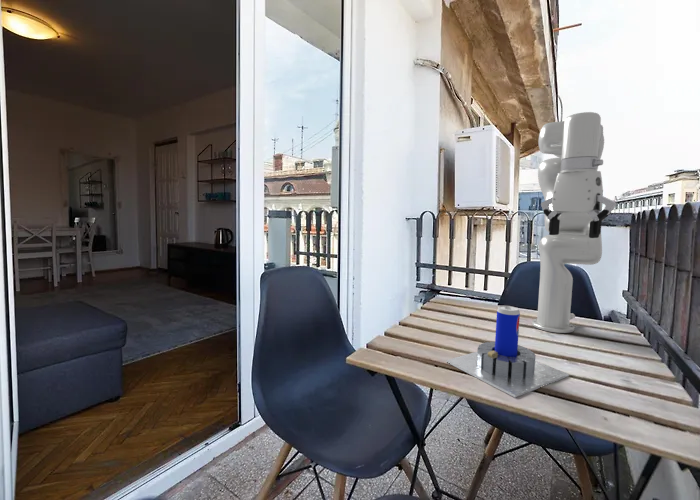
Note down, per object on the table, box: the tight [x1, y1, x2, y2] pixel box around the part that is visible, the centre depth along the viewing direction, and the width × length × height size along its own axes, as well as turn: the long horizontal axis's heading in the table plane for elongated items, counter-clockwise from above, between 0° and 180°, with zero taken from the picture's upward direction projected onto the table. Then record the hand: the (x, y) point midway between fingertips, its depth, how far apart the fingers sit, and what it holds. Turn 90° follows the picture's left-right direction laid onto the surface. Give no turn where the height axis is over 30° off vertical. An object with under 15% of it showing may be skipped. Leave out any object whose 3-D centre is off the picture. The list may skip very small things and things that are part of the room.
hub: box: [445, 341, 570, 399], centre depth 89 cm, size 20×20×5 cm
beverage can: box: [494, 305, 521, 357], centre depth 88 cm, size 5×5×15 cm
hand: (572, 236), depth 89 cm, fingers open, 9 cm apart
